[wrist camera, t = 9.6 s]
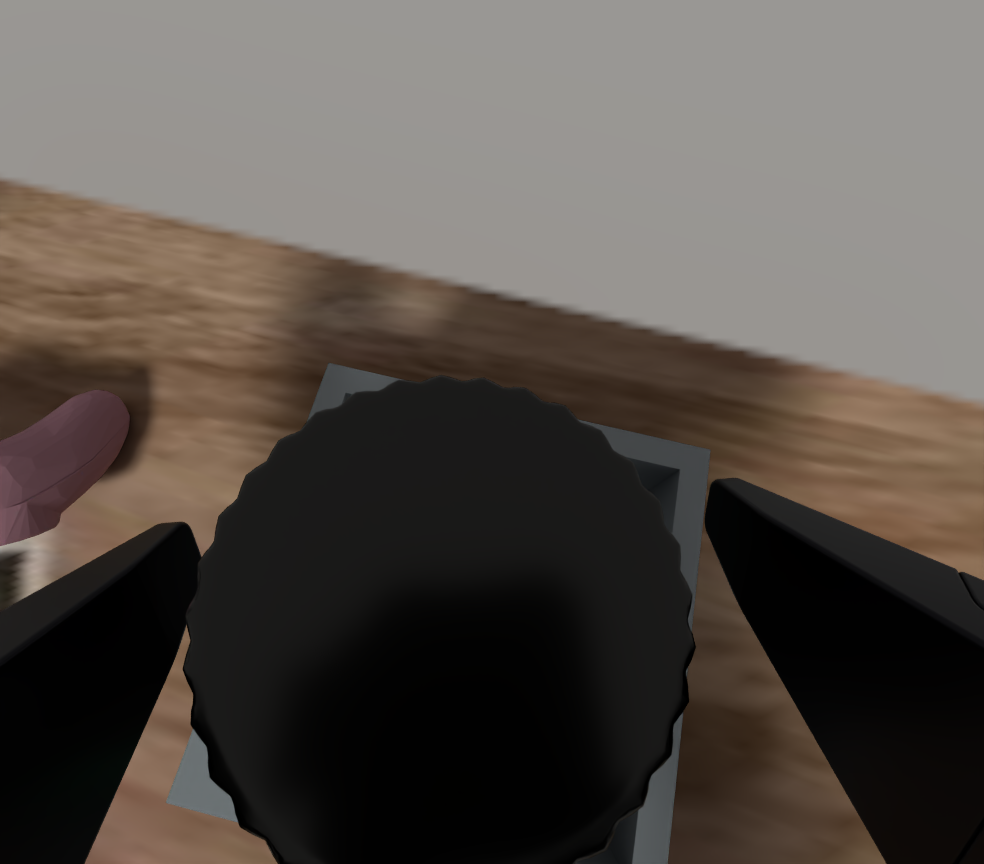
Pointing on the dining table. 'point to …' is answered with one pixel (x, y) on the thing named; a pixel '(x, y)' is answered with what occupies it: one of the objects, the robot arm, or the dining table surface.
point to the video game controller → (57, 462)
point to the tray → (682, 491)
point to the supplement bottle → (439, 634)
